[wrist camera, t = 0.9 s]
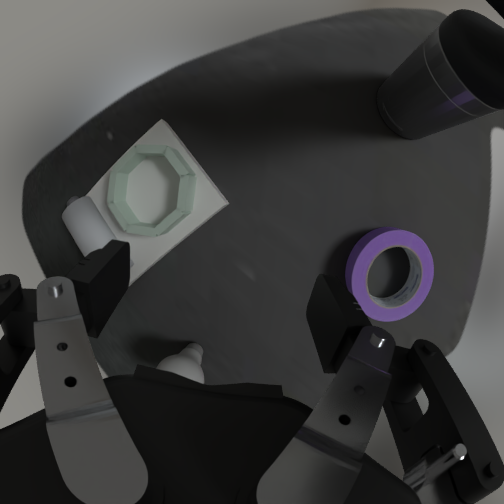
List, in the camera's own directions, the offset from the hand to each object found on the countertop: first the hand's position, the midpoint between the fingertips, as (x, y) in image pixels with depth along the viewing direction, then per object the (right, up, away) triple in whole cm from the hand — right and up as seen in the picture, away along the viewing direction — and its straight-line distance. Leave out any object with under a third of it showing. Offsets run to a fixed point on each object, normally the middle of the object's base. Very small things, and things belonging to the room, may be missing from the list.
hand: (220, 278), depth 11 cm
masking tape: (+19, -1, +23) cm, 30 cm away
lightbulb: (-7, -13, +27) cm, 31 cm away
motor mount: (-13, +7, +24) cm, 28 cm away
